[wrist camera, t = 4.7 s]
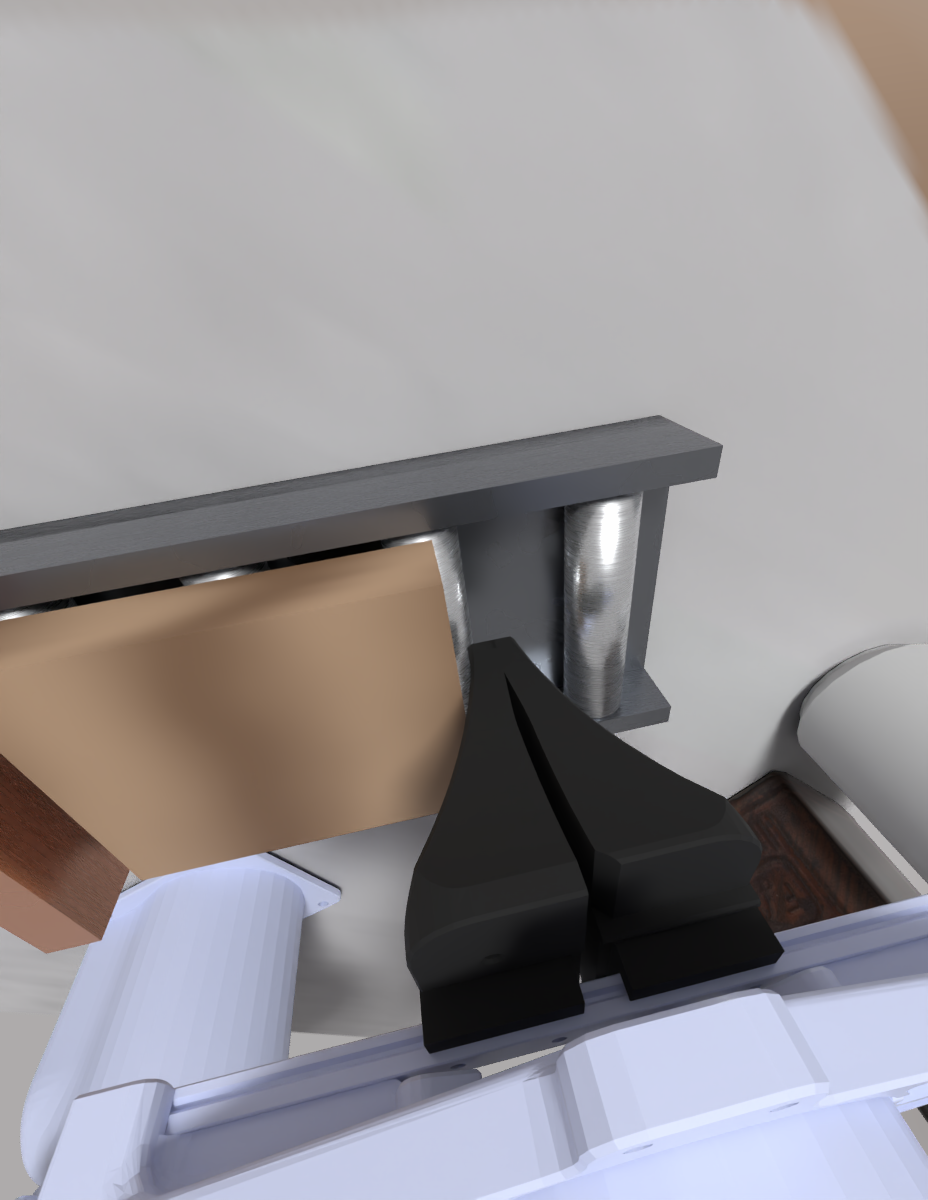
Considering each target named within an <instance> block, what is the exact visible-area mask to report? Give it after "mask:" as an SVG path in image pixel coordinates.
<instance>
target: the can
mask: <svg viewBox="0 0 928 1200" xmlns="http://www.w3.org/2000/svg"><path fill="white" fill-rule="evenodd" d="M799 715H800V722H799V726H798V730H797V736H798V740H799V745H800V746H801V747H802V748H803V749H804V750H805V751H806V752H807V753H808V754H809V756H810V757H811V758H812V759H813V760H814V761H815V762H816V763H817V764H818V765H819V766H820V767H821V769H822V770H823V771H824V772H825V773H826V774H827V775H828V776H829V777H830V778H831V779H832V780H833V782H834V783H835V784H836V785H837V786H838V787H839V788H840V789H841V790H842V791H843V792H844V793H845V795H846V796H847V797H848V798H849V799H850V800H851V801H852V802H853V803H854V804H855V805H856V806H857V808H858V809H859V810H860V811H861V812H862V813H863V814H864V815H865V816H866V817H867V818H868V819H869V821H870V822H871V823H872V824H873V825H874V826H875V827H876V828H877V829H878V830H879V831H880V832H881V834H882V835H883V836H884V837H885V838H886V839H887V840H888V841H889V842H890V843H891V844H892V845H893V847H894V848H895V849H896V850H897V851H898V852H899V853H900V854H901V855H902V856H903V857H904V858H905V860H906V861H907V862H908V863H909V864H910V865H911V866H912V867H913V868H914V869H915V870H916V871H917V873H918V874H919V875H920V876H921V877H922V878H923V879H924V880H925V881H926V882H927V883H928V643H925V644H908V645H901V644H900V645H884V646H880V647H877V648H873V649H870V650H866V651H864V652H862V653H860V654H858V655H856V656H854V657H852V658H849V659H847V660H845V661H844V662H842V663H841V664H840V665H838V666H837V667H835V668H834V669H832V670H831V671H830V672H828V673H827V674H826V675H825V676H824V677H823V678H822V679H821V680H820V681H818V682H817V683H816V684H815V685H814V686H813V687H812V689H811V690H810V692H809V693H808V695H807V696H806V698H805V699H804V700H803V703H802V706H801V709H800V713H799Z"/></svg>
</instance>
